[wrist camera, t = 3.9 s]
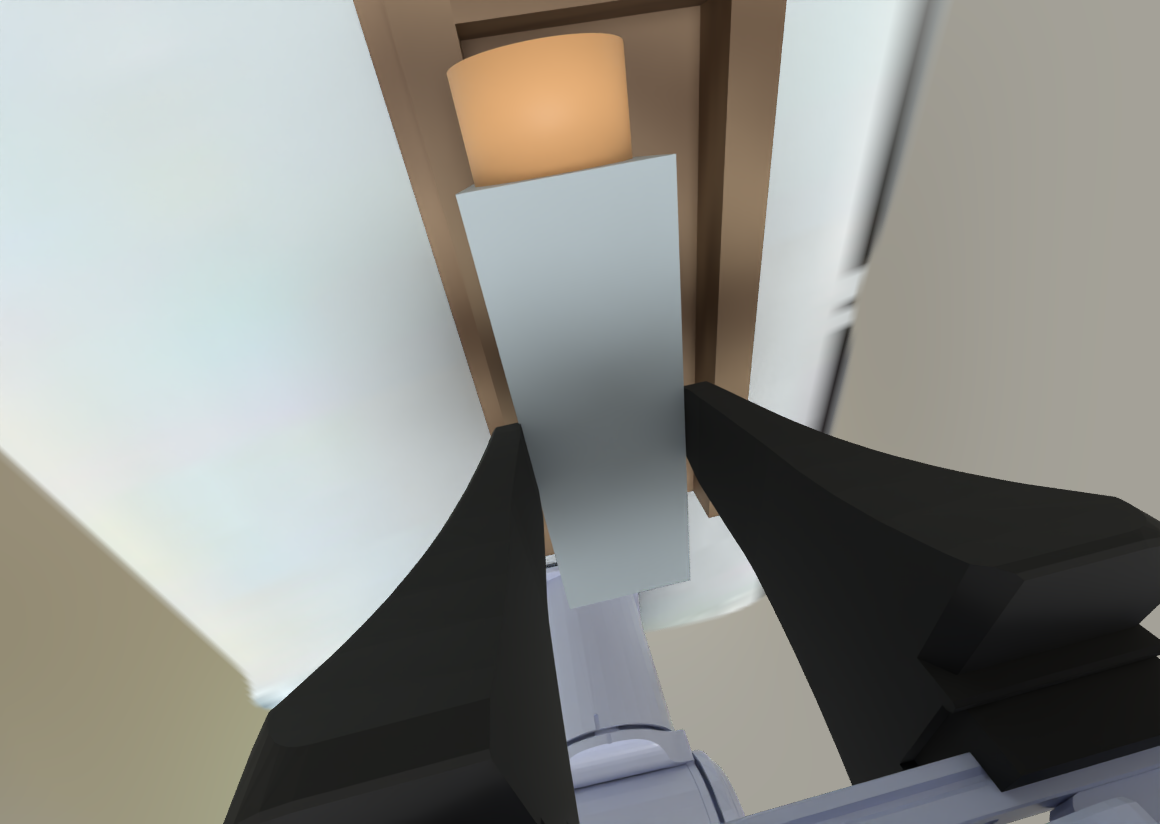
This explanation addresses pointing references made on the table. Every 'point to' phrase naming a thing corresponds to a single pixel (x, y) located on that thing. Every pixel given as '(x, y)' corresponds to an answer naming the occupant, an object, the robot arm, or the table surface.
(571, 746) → the robot arm
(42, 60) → the table surface
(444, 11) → the wooden rail tray
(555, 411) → the orange-capped grey pillar
